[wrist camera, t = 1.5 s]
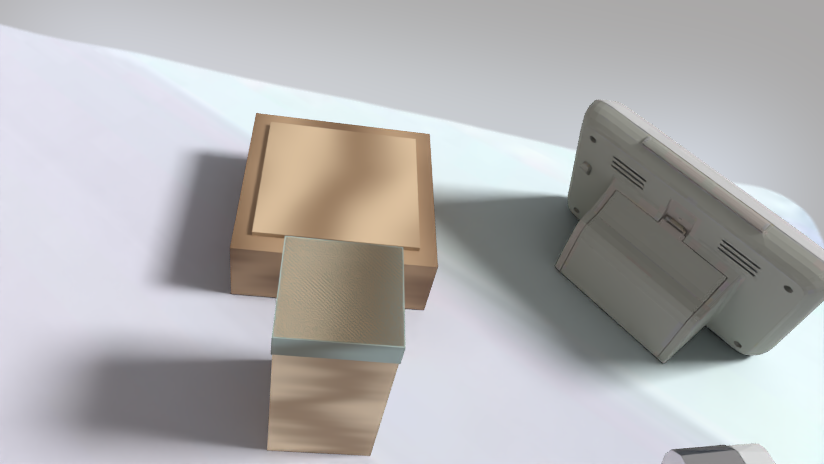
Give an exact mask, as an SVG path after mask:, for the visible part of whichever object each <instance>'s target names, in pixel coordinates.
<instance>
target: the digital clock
mask: <svg viewBox="0 0 824 464" xmlns="http://www.w3.org/2000/svg"><path fill="white" fill-rule="evenodd" d="M568 207H569V209H570V211H571V212H572V213H573V214H574V215H575V216H576V217H577V218H578V219H579V220H580V221H579V222H578V224H577V225H576V227H575V228H574V230H573V232H572V234H571V236H570V238H569V240H568V241H567V243H566V245H565V247H564V249H563V251H562V253H561V255H560V257H559V259H558V261H557V263H556V265H555V267H556V268H557V269H558V270H559V271H560V272H561V273H562V274H563V275H564V276H566V277H567V278H568V279H569V280H570V281H571V282H572V283H573V284H575V285H576V286H577V287H578V288H579V289H580V290H581V291H582V292H584V293H585V294H586V295H587V296H588V297H589V298H590V299H591V300H592V301H594V302H595V303H596V304H597V305H598V306H599V307H600V308H601V309H603V310H604V311H605V312H606V313H607V314H608V315H609V316H610V317H612V318H613V319H614V320H615V321H616V322H617V323H618V324H619V325H621V326H622V327H623V328H624V329H625V330H626V331H627V332H628V333H629V334H631V335H632V336H633V337H634V338H635V339H636V340H637V341H638V342H640V343H641V344H642V345H643V346H644V347H645V348H646V349H647V350H649V351H650V352H651V353H652V354H653V355H654V356H655V357H656V358H657V357H658V359H659V360H660V361H661V362H662V363H665V362H667V361H668V360H669V359H670V358H671V357H672V356H673V355H674V354H675V353H676V352H677V351H679V350H680V349H681V348H682V347H683V346H684V345H685V344H686V343H687V342H688V341H689V340H690V339H691V338H693V337H694V336H695V335H696V334H697V333H698V332H699V331H700V330H701V329H702V328H703V327H704V326H707V327H708V328H709V329H710V330H712V331H713V332H714V333H715V334H716V335H718V336H719V337H720V338H721V339H723V340H724V341H725V342H726V343H727V344H729V345H730V346H731V347H732V348H734V349H735V350H737V351H738V352H740V353H742V354H744V355H760V354H763V353H765V352H768V351H769V350H771V349H772V348H773V347H774V346H775V345H777V344H778V343H779V342H780V341H781V340H782V339H783V338H784V337H785V336H786V335H787V334H788V333H790V332H791V331H792V330H793V329H794V328H795V327H796V326H797V325H798V324H799V323H800V322H801V321H802V320H804V319H805V318H806V317H807V316H808V315H809V314H810V313H811V312H812V311H813V310H814V309H815V308H816V307H818V306H819V305H820V304H821V303H822V302H823V301H824V249H823V248H822V247H820V246H819V245H818V244H816V243H815V242H814V241H812V240H811V239H810V238H808V237H807V236H806V235H804V234H803V233H801V232H800V231H799V230H797V229H796V228H795V227H793V226H792V225H790V224H789V223H788V222H786V221H785V220H784V219H782V218H781V217H779V216H778V215H777V214H775V213H774V212H773V211H771V210H770V209H768V208H767V207H766V206H764V205H763V204H761V203H760V202H759V201H757V200H756V199H754V198H753V197H752V196H750V195H749V194H748V193H746V192H745V191H743V190H742V189H741V188H739V187H738V186H736V185H735V184H734V183H732V182H731V181H730V180H728V179H727V178H725V177H724V176H723V175H721V174H720V173H718V172H717V171H716V170H714V169H713V168H711V167H710V166H709V165H707V164H706V163H705V162H703V161H702V160H700V159H699V158H697V157H696V156H695V155H693V154H692V153H691V152H689V151H688V150H686V149H685V148H684V147H682V146H681V145H680V144H678V143H676V142H675V141H674V140H673V139H671V138H670V137H668V136H667V135H665V134H664V133H663V132H662V131H660V130H659V129H657V128H656V127H654V126H653V125H652V124H650V123H649V122H647V121H646V120H645V119H643V118H642V117H640V116H639V115H638V114H636V113H635V112H633V111H632V110H630V109H629V108H628V107H626V106H624V105H623V104H621V103H619V102H616V101H608V100H595V101H594V102H593V103H592V104H591V105H590V106H589V108H588V109H587V111H586V113H585V115H584V119H583V123H582V127H581V131H580V136H579V141H578V146H577V151H576V156H575V161H574V167H573V172H572V177H571V182H570V187H569V192H568Z"/></svg>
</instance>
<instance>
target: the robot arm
mask: <svg viewBox="0 0 824 464" xmlns="http://www.w3.org/2000/svg"><path fill="white" fill-rule="evenodd" d="M661 464H775V462H774V461H773V459H772V458H771V456H770V455H769V453H768V452H767V450H766V449H765V448H764V447H762V446H761V445H760V444H754V443H751V444H741V445H730V446H726V445H717V446H706V447H695V448H683V449H672V450H670V451H669V452H667V453H666V454H665V456H664V458H663V461H662V463H661Z"/></svg>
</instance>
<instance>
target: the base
mask: <svg viewBox="0 0 824 464" xmlns="http://www.w3.org/2000/svg"><path fill="white" fill-rule="evenodd" d="M285 236H293V237H304V238H314V239H324V240H335V241H345V242H355V243H366V244H376V245H386V246H396V247H403V252H404V302H405V308H407V309H419V310H424V308H425V305H426V302H427V299H428V296H429V293H430V290H431V287H432V284H433V281H434V278H435V275H436V271H437V268H438V262H437V246H436V229H435V213H434V197H433V181H432V164H431V148H430V134H424V133H416V132H407V131H399V130H391V129H383V128H374V127H366V126H358V125H350V124H341V123H333V122H325V121H317V120H308V119H300V118H292V117H284V116H275V115H267V114H259V113H256V117H255V122H254V127H253V132H252V138H251V143H250V148H249V153H248V158H247V163H246V168H245V173H244V178H243V183H242V189H241V194H240V199H239V204H238V209H237V214H236V219H235V224H234V229H233V235H232V240H231V245H230V272H231V294H240V295H252V296H264V297H276V298H277V292H278V285H279V277H280V269H281V261H282V254H283V246H284V238H285Z"/></svg>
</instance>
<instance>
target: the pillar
mask: <svg viewBox="0 0 824 464" xmlns="http://www.w3.org/2000/svg"><path fill="white" fill-rule="evenodd" d="M404 351H405V302H404V252H403V247H396V246H386V245H376V244H366V243H355V242H345V241H335V240H324V239H314V238H304V237H293V236H285V238H284V246H283V254H282V261H281V269H280V277H279V285H278V292H277V300H276V308H275V316H274V323H273V331H272V341H271V355H272V368H271V386H270V405H269V424H268V443H267V450H271V451H290V452H309V453H328V454H347V455H366V456H370V455H371V452H372V449H373V445H374V442H375V439H376V436H377V432H378V429H379V426H380V423H381V420H382V416H383V413H384V410H385V407H386V403H387V400H388V397H389V394H390V391H391V387H392V384H393V381H394V378H395V374H396V371H397V368H398V365H399V364H400V363H401V360H402V357H403V354H404Z"/></svg>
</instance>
